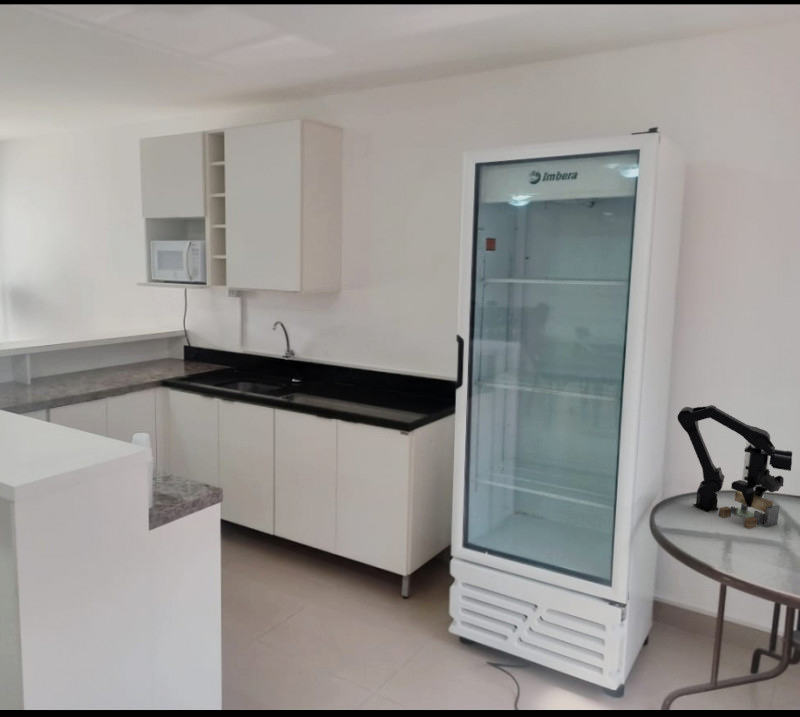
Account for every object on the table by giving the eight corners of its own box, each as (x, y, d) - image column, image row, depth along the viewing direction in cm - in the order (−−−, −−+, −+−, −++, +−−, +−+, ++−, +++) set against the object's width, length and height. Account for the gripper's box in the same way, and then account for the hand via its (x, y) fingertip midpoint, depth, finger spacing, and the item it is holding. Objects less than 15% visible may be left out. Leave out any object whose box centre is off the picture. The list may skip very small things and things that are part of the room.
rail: (734, 500, 237) (735, 491, 236) (740, 498, 239) (741, 489, 238) (765, 512, 226) (766, 503, 226) (771, 510, 228) (772, 501, 227)
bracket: (726, 511, 238) (728, 493, 237) (738, 507, 242) (740, 490, 240) (765, 527, 225) (768, 508, 224) (778, 523, 228) (780, 505, 227)
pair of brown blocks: (718, 515, 234) (719, 508, 234) (725, 513, 236) (726, 506, 235) (748, 528, 224) (749, 520, 223) (756, 526, 225) (757, 518, 225)
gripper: (762, 476, 219) (756, 519, 221) (795, 468, 227) (790, 509, 230) (732, 466, 228) (727, 507, 231) (765, 458, 237) (760, 498, 240)
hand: (752, 506), depth 233 cm, fingers closed on rail, 3 cm apart
